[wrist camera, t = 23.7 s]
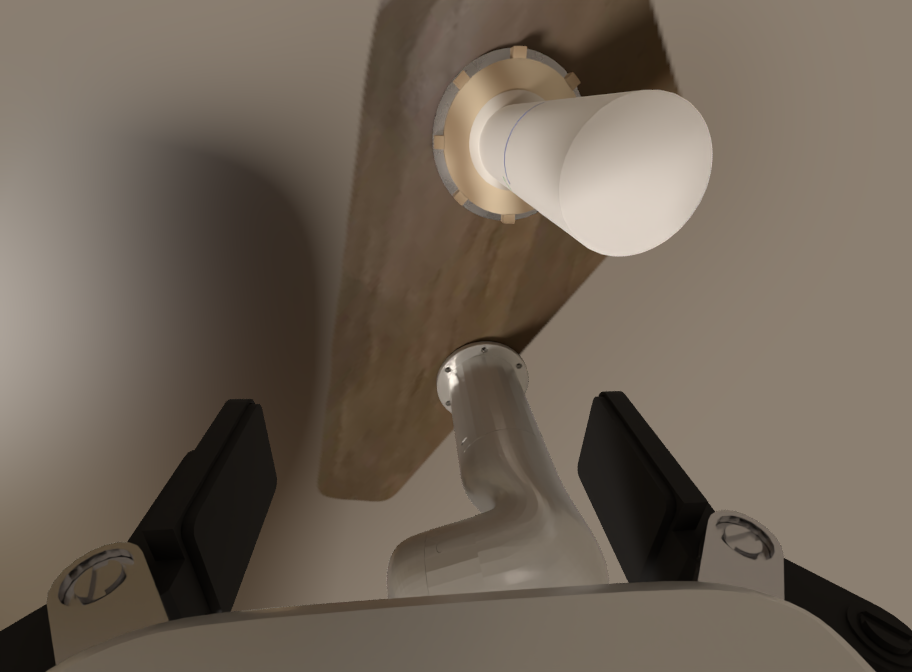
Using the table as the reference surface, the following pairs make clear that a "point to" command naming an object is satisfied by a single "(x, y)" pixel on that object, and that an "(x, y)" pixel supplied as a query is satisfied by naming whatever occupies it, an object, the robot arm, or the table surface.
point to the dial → (471, 112)
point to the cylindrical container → (604, 164)
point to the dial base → (445, 105)
